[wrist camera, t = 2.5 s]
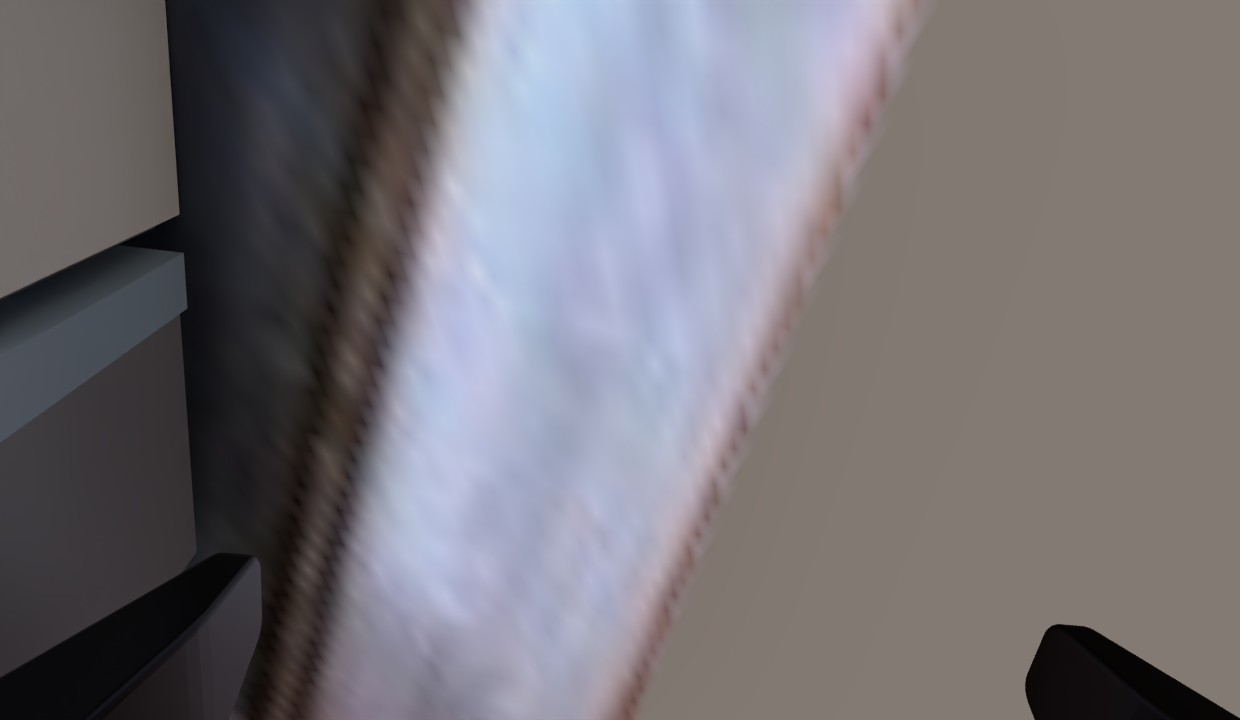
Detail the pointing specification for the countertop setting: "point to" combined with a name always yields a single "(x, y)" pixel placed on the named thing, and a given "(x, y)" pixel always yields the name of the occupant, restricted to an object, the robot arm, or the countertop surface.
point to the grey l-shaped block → (91, 446)
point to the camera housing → (81, 132)
